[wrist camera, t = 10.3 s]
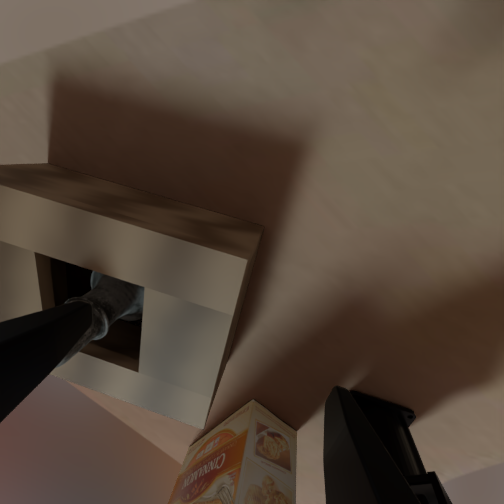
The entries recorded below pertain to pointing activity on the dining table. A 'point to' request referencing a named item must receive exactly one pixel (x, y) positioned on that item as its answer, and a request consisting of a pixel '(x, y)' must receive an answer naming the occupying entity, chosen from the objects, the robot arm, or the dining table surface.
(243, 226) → the beige rectangular hollow block
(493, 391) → the dining table surface
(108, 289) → the grey chess piece
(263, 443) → the coffeecake box
